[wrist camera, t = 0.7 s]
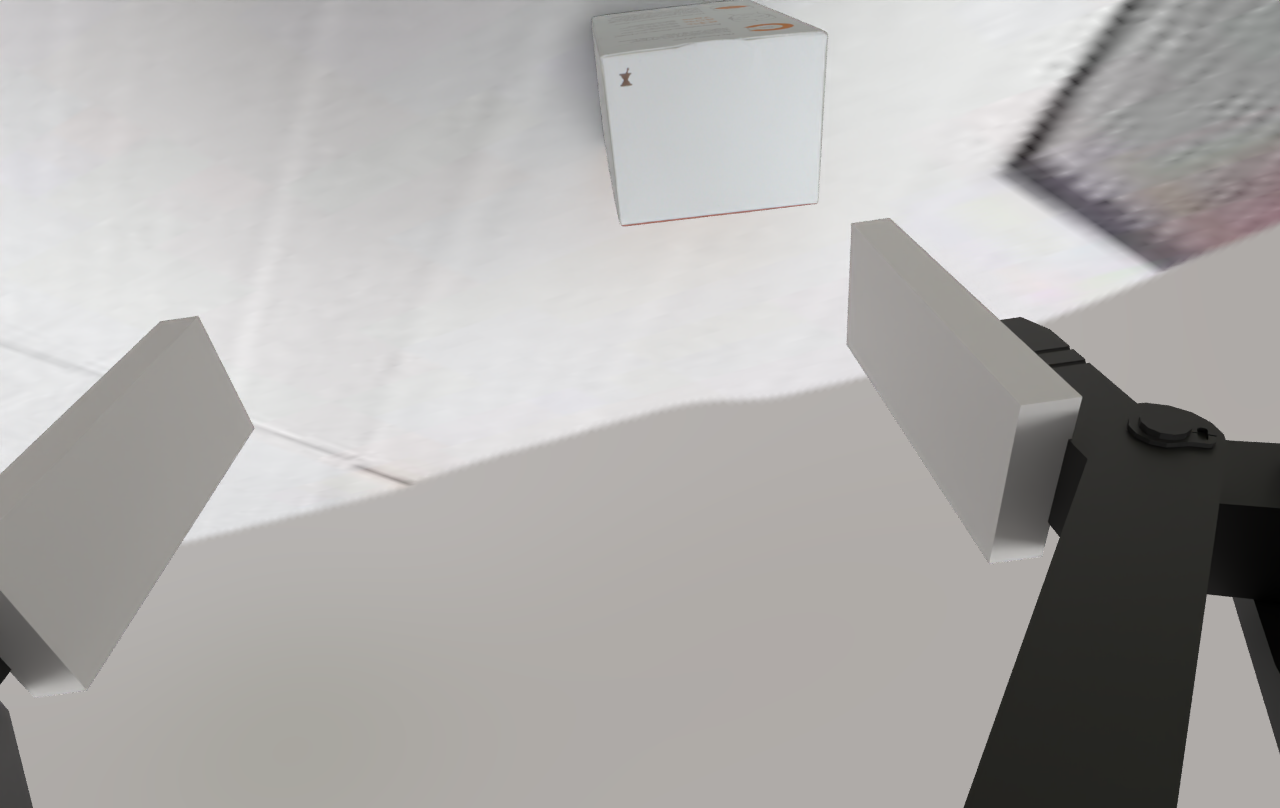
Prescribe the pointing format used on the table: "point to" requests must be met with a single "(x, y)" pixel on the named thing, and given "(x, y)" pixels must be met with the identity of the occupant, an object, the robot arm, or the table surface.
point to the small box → (710, 109)
